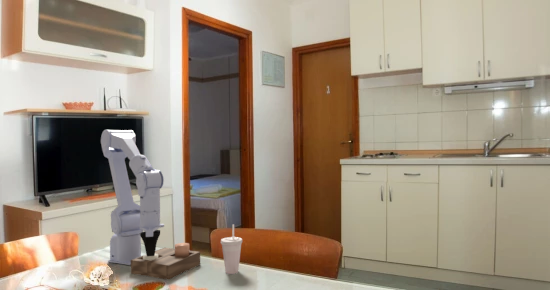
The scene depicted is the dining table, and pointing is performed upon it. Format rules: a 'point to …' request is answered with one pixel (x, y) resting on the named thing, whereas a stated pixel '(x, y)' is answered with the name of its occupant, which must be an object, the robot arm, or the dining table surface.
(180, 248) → the peach egg
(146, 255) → the knob cream
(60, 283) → the dining table surface
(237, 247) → the smoothie
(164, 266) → the wooden egg crate
